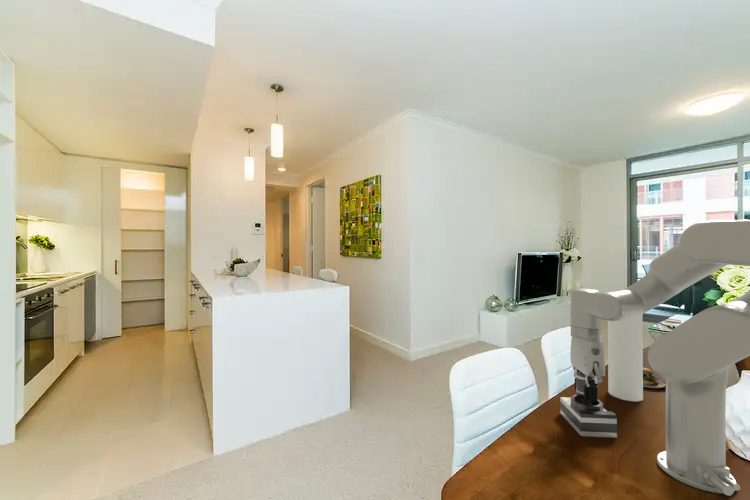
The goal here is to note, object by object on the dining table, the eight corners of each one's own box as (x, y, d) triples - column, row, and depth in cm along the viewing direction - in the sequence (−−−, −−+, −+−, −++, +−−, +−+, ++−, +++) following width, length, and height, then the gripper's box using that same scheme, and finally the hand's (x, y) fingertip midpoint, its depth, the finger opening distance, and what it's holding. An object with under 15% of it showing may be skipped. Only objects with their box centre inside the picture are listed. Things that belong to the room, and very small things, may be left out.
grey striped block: (617, 437, 87) (617, 410, 86) (580, 436, 88) (580, 409, 87) (591, 414, 99) (591, 391, 99) (560, 413, 100) (560, 389, 99)
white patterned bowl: (620, 383, 121) (620, 363, 121) (630, 376, 128) (630, 357, 128) (662, 395, 112) (662, 373, 112) (671, 386, 119) (670, 365, 119)
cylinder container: (649, 402, 106) (649, 310, 106) (617, 400, 108) (616, 309, 108) (632, 390, 115) (632, 305, 115) (603, 388, 117) (602, 304, 117)
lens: (598, 405, 91) (598, 376, 91) (581, 405, 91) (581, 376, 91) (589, 398, 95) (589, 370, 95) (572, 397, 96) (572, 370, 96)
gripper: (618, 341, 84) (618, 411, 84) (584, 325, 101) (583, 383, 101) (588, 340, 85) (587, 410, 85) (558, 324, 102) (558, 382, 102)
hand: (585, 395), depth 93 cm, fingers closed on lens, 4 cm apart
